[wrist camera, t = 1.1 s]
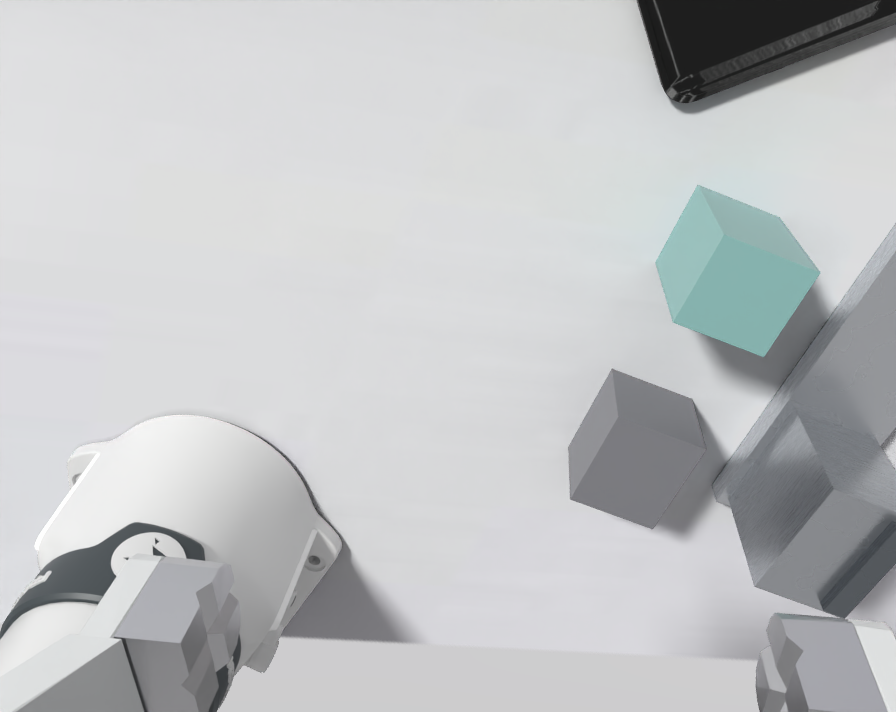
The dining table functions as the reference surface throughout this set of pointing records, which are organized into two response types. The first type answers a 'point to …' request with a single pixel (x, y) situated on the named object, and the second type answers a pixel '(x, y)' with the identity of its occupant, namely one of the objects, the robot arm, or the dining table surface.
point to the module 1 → (634, 449)
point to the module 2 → (733, 271)
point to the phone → (748, 37)
